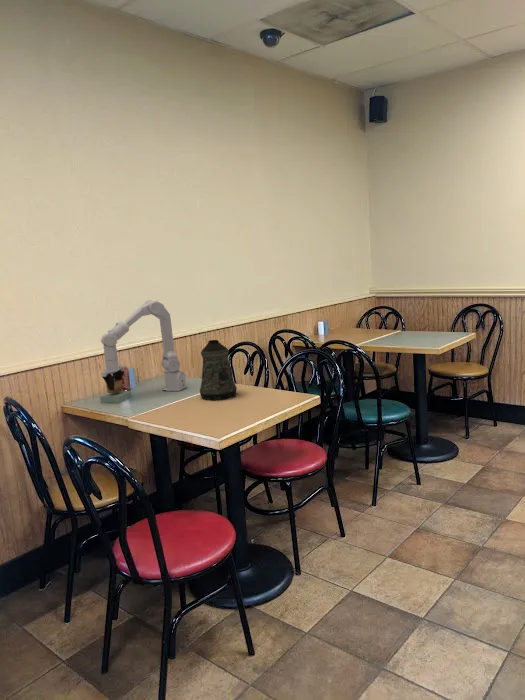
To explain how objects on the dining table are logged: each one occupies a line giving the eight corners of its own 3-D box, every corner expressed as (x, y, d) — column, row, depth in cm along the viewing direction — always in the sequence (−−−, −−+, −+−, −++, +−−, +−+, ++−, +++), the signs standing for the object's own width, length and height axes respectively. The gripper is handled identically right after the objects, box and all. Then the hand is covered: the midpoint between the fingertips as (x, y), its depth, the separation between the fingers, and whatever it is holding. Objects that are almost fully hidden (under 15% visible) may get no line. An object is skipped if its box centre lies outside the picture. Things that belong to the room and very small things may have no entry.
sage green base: (131, 397, 259) (131, 390, 259) (119, 403, 250) (118, 396, 249) (114, 396, 263) (113, 390, 262) (100, 402, 254) (100, 396, 253)
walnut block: (123, 390, 257) (121, 379, 256) (116, 393, 252) (115, 382, 252) (114, 390, 259) (112, 379, 258) (107, 392, 254) (106, 382, 253)
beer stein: (217, 402, 237) (211, 345, 233) (188, 397, 251) (183, 342, 246) (244, 393, 249) (240, 338, 245) (216, 389, 262) (211, 336, 258)
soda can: (132, 388, 278) (129, 364, 276) (128, 391, 271) (125, 367, 269) (119, 388, 279) (116, 365, 277) (114, 392, 272) (111, 368, 270)
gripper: (113, 356, 261) (117, 384, 263) (94, 362, 248) (98, 392, 250) (126, 356, 259) (129, 384, 261) (107, 362, 245) (111, 392, 248)
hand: (115, 388), depth 255 cm, fingers closed on walnut block, 5 cm apart
